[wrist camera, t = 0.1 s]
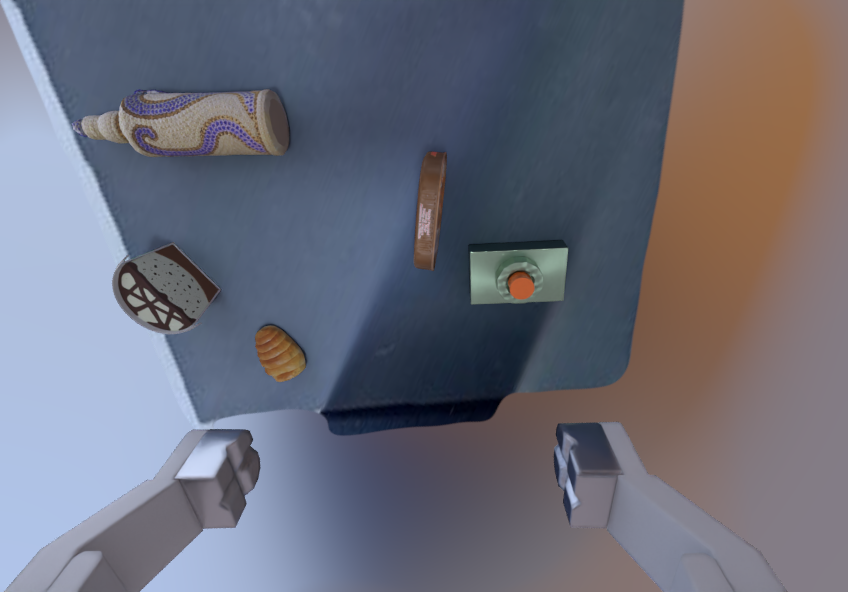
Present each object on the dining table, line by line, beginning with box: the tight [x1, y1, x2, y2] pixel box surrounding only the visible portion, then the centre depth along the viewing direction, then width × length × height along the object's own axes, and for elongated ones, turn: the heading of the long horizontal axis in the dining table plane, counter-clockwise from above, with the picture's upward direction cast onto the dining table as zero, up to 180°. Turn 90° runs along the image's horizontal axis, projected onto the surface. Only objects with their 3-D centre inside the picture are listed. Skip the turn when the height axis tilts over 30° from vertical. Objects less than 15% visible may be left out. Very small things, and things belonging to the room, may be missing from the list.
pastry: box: [255, 325, 306, 382], centre depth 67 cm, size 9×7×4 cm
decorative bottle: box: [72, 89, 289, 157], centre depth 50 cm, size 26×8×7 cm, turn 91°
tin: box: [414, 152, 447, 271], centre depth 53 cm, size 15×3×8 cm, turn 175°
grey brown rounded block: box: [112, 242, 221, 334], centre depth 59 cm, size 12×6×10 cm, turn 36°
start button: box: [508, 272, 535, 300], centre depth 55 cm, size 3×3×2 cm
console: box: [469, 240, 568, 304], centre depth 58 cm, size 8×13×5 cm, turn 94°
